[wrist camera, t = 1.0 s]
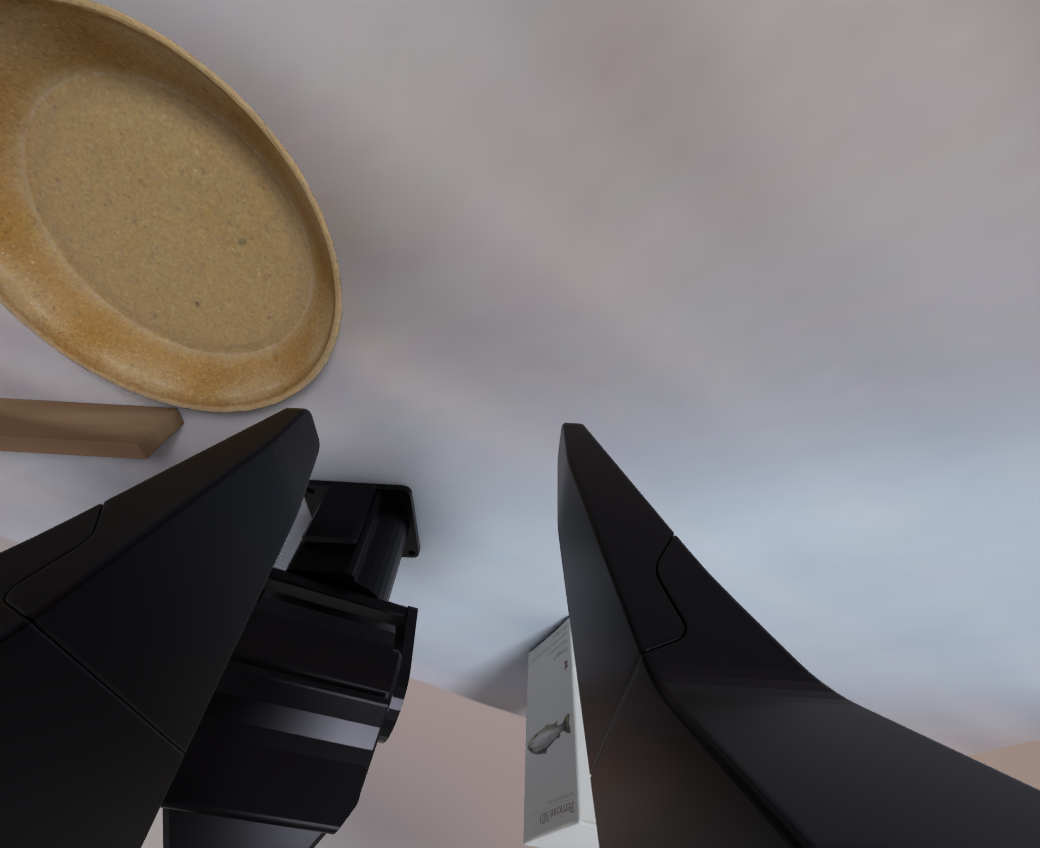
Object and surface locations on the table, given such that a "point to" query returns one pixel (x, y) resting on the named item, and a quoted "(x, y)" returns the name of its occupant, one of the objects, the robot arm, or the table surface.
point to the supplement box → (556, 751)
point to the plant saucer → (154, 216)
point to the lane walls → (85, 428)
